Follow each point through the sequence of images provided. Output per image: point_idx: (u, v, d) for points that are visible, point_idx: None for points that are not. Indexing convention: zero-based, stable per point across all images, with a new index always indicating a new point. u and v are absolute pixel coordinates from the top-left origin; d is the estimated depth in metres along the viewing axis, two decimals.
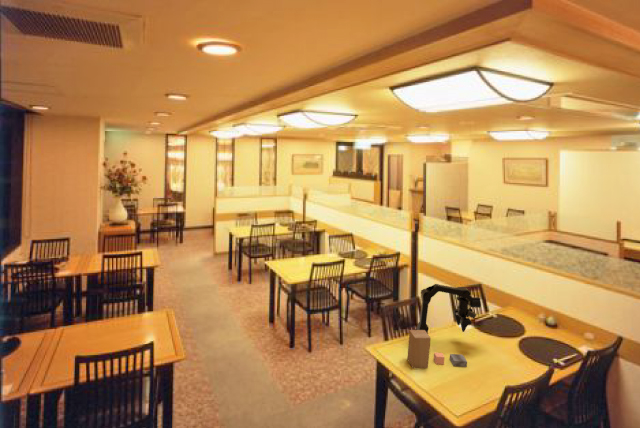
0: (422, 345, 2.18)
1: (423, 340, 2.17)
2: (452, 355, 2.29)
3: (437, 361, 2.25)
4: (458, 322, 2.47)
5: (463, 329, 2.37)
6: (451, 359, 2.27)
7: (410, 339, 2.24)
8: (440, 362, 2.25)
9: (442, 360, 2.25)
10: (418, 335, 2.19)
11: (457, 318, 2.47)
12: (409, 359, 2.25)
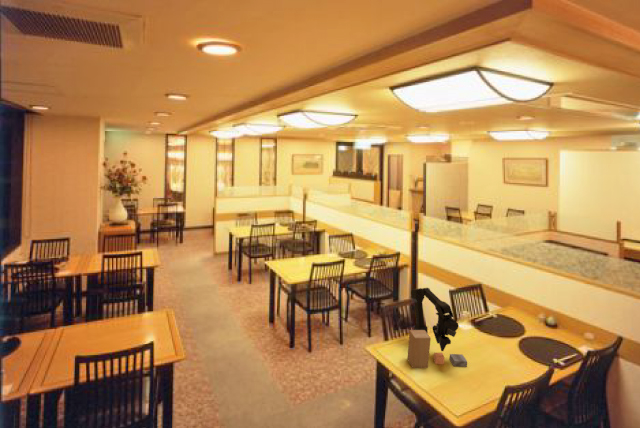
0: (422, 345, 2.18)
1: (423, 340, 2.17)
2: (452, 355, 2.29)
3: (437, 361, 2.25)
4: (437, 340, 2.30)
5: (442, 348, 2.20)
6: (451, 359, 2.27)
7: (410, 339, 2.24)
8: (440, 362, 2.25)
9: (442, 360, 2.25)
10: (418, 335, 2.20)
11: (436, 336, 2.30)
12: (409, 359, 2.25)
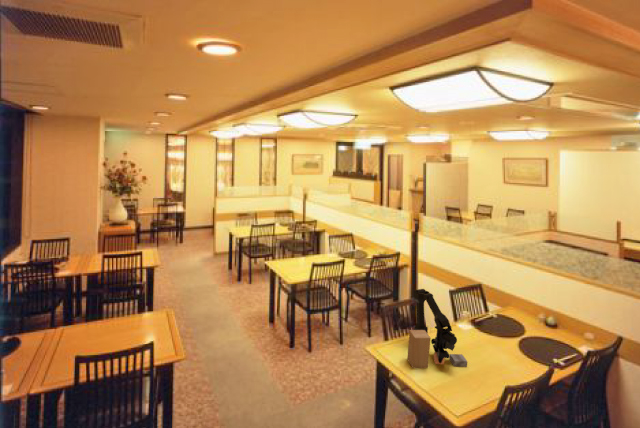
0: (422, 345, 2.18)
1: (423, 340, 2.17)
2: (452, 355, 2.29)
3: (437, 361, 2.25)
4: None
5: (440, 360, 2.24)
6: (451, 359, 2.27)
7: (410, 339, 2.24)
8: None
9: (442, 360, 2.25)
10: (418, 335, 2.19)
11: (436, 350, 2.29)
12: (409, 359, 2.25)
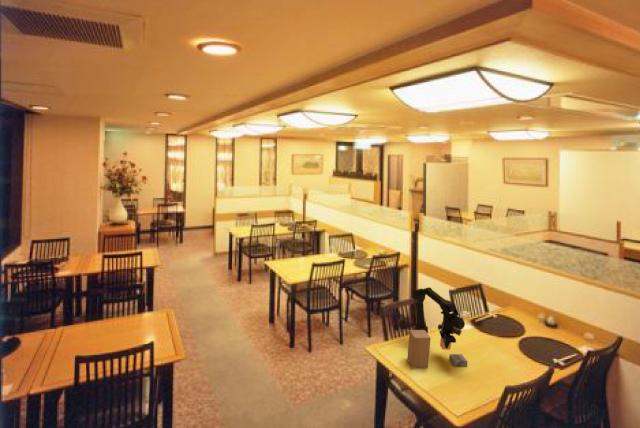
0: (422, 345, 2.18)
1: (423, 340, 2.17)
2: (452, 355, 2.28)
3: (444, 346, 2.23)
4: None
5: (446, 345, 2.22)
6: (451, 359, 2.27)
7: (410, 339, 2.24)
8: None
9: None
10: (418, 335, 2.20)
11: (442, 336, 2.27)
12: (409, 359, 2.25)
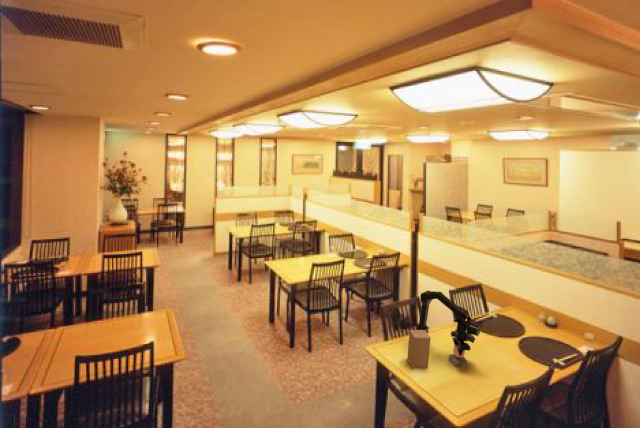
0: (422, 345, 2.18)
1: (423, 340, 2.17)
2: (452, 355, 2.28)
3: (457, 353, 2.23)
4: None
5: (460, 353, 2.22)
6: (451, 359, 2.27)
7: (410, 339, 2.24)
8: None
9: (462, 353, 2.23)
10: (418, 335, 2.20)
11: (456, 343, 2.28)
12: (409, 359, 2.25)
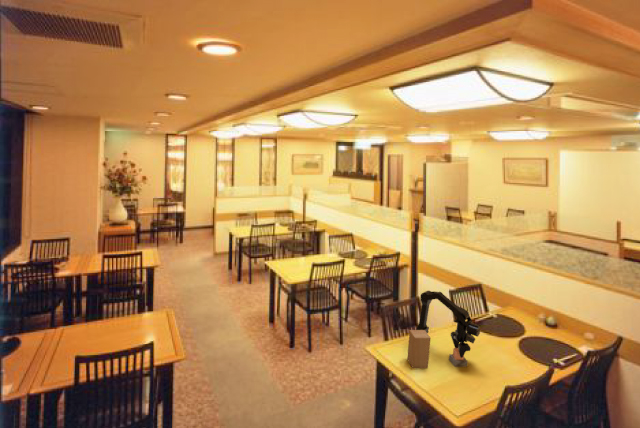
0: (422, 345, 2.18)
1: (423, 340, 2.17)
2: (452, 355, 2.28)
3: (457, 356, 2.24)
4: (456, 346, 2.30)
5: (461, 355, 2.20)
6: (451, 360, 2.27)
7: (410, 339, 2.24)
8: (460, 357, 2.24)
9: None
10: (418, 335, 2.20)
11: (455, 342, 2.30)
12: (409, 359, 2.25)
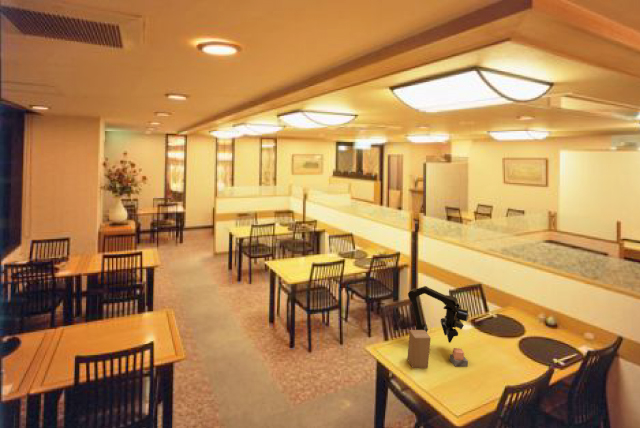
0: (422, 345, 2.18)
1: (423, 340, 2.17)
2: (452, 355, 2.28)
3: (456, 357, 2.24)
4: (445, 332, 2.38)
5: (449, 340, 2.29)
6: (452, 360, 2.27)
7: (410, 339, 2.24)
8: (459, 358, 2.24)
9: (461, 356, 2.23)
10: (418, 335, 2.20)
11: (444, 328, 2.38)
12: (409, 359, 2.25)
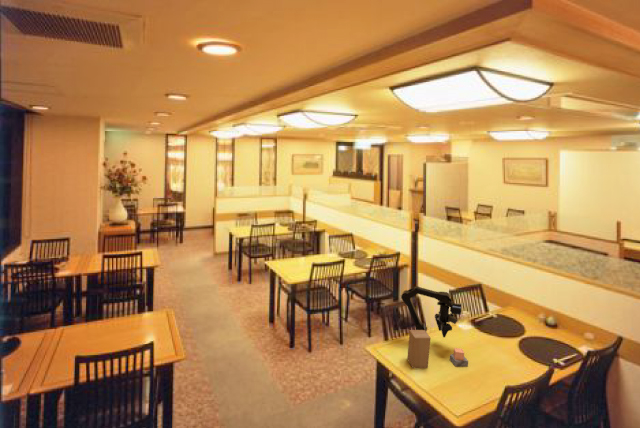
0: (422, 345, 2.18)
1: (423, 340, 2.17)
2: (452, 355, 2.28)
3: (456, 356, 2.24)
4: (439, 327, 2.43)
5: (444, 335, 2.34)
6: (452, 360, 2.27)
7: (410, 339, 2.24)
8: (460, 358, 2.24)
9: (461, 356, 2.23)
10: (418, 335, 2.20)
11: (438, 323, 2.43)
12: (409, 359, 2.25)
